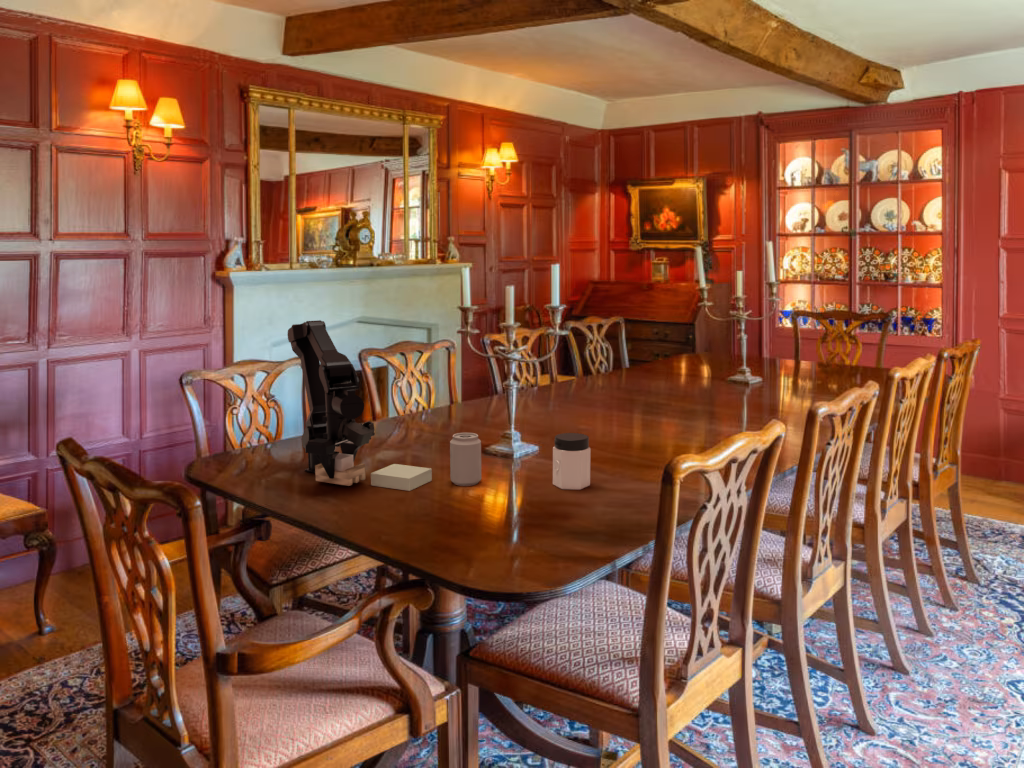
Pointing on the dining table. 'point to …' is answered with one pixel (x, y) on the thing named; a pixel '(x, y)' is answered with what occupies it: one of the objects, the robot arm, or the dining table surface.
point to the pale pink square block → (343, 462)
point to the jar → (571, 461)
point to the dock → (401, 477)
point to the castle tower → (341, 475)
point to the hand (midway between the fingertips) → (340, 475)
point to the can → (465, 459)
